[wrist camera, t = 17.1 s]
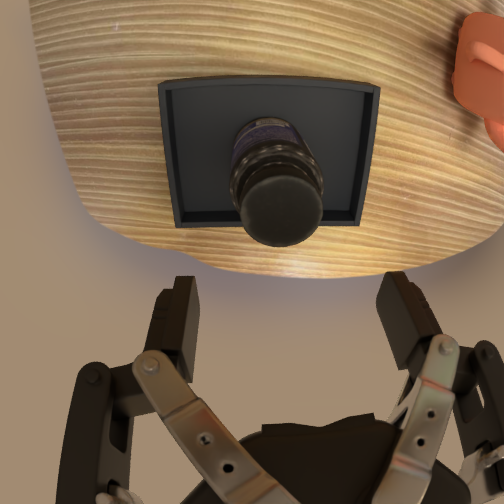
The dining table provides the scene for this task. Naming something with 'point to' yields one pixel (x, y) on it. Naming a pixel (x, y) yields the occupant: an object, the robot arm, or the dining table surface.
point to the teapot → (482, 71)
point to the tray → (258, 106)
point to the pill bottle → (275, 183)
